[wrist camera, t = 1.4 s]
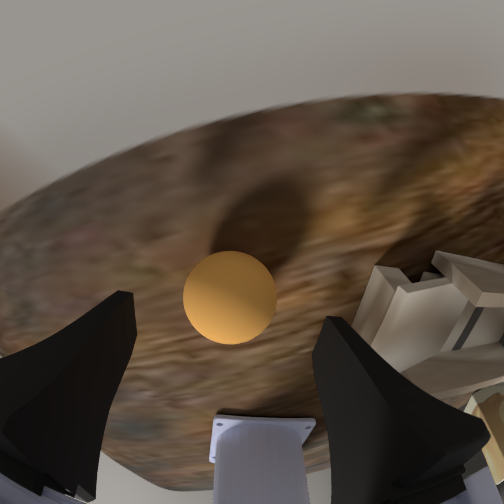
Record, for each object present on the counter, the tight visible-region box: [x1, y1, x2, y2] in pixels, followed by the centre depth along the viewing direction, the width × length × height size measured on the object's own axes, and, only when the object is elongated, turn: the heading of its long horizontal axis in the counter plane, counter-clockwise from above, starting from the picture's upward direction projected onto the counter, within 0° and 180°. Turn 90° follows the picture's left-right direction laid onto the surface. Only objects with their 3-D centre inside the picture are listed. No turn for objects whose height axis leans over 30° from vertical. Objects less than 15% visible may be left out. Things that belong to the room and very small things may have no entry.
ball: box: [183, 251, 277, 344], centre depth 12 cm, size 4×4×4 cm
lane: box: [351, 251, 504, 399], centre depth 14 cm, size 8×18×4 cm, turn 82°
